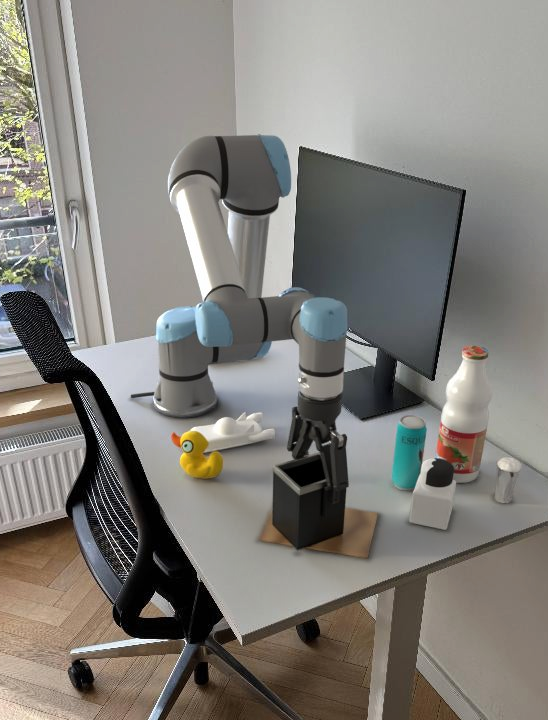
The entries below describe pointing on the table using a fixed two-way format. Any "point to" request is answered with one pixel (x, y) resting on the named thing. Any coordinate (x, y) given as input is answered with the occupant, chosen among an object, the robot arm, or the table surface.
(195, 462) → the duckling
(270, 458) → the table surface
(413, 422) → the beverage can
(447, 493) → the medicine bottle
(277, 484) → the desk bin
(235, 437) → the white piece
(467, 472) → the fruit juice
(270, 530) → the wooden board
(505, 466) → the milkshake
